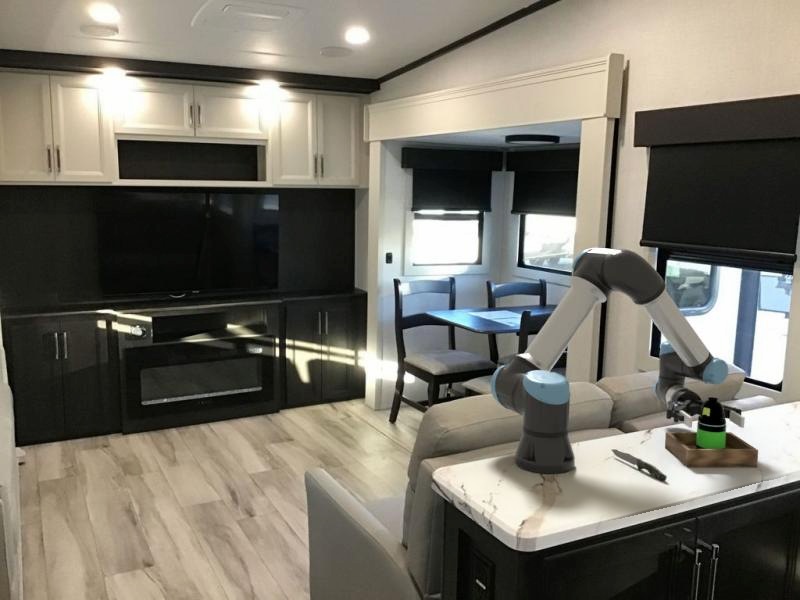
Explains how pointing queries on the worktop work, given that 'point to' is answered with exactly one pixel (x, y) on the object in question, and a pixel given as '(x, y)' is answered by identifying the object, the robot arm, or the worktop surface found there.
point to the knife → (640, 464)
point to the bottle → (711, 425)
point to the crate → (711, 451)
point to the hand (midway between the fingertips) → (716, 422)
